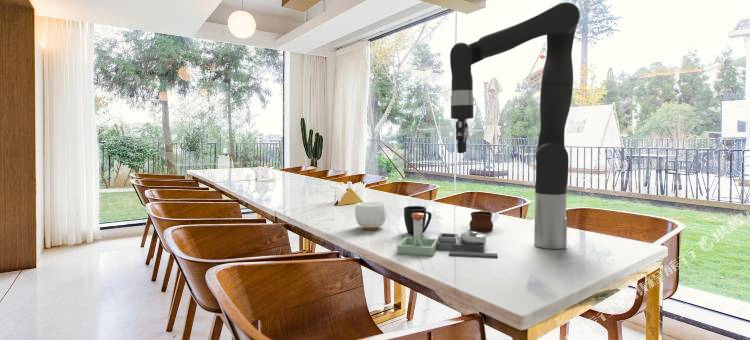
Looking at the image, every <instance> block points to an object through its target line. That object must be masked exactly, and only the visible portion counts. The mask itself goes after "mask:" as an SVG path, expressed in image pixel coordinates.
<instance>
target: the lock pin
mask: <svg viewBox="0 0 750 340" xmlns="http://www.w3.org/2000/svg"><path fill="white" fill-rule="evenodd" d="M412 217H413V224H414V235H413V238H414V246H421V247H423V238H424V237H423V234H424V233H423V230H422V218H423V217H424V213H412Z"/></svg>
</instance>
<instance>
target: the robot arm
mask: <svg viewBox="0 0 750 340" xmlns="http://www.w3.org/2000/svg"><path fill="white" fill-rule="evenodd" d="M580 15H581V14H580V10H579V8H578V6H577V5H576V4H575V3H573V2H569V1H568V2H559V3H557V4H555V5H554V6H552V7H550V8H548V9H546V10H544V11H543V12H541V13H539V14H537V15H535V16H533V17H531V18H527V19H526V20H524V21H521V22H518V23H517V24H513V25H512V26H511V25H510V26H509V27H508V26H507V27H506V28H503V29H499V30H496V31H494V32H491V33H488V34H486V35H483V36H482V37H480V38H479V39H478V40H477V41H474V42H472V43H470V44H469V43H468V44H467V43H466V42H457V43H456V44H454V45H453V46H452V48H451V49H450V53H449V63H450V72H451V95H450V119H451V120H457V121H456V123H455V136H456V137H455V139H456V142H457V146H456V149H457V152H456V153H458V154H464V153H467V141H468V136H469V124H468V122H467V120H469V119H474V100H475V99H474V92H473V91H474V89H473V87H474V85H473V84H474V82H473V81H474V80H473V74H472V65H474V64H476V63H478V62H482V61H483V60H484V59H487V58H490V57H491V58H492V57H494V56H498V55H500V54H503V53H505V52H508V51H510V50H512V49H515V48H517V47H519V46H520V45H523V44H525V43H526V42H529V41H532V40H534V39H537V38H540V37H543V36H546V57H545V62H544V66H543V70H542V76H541V83H540V95H539V97H540V98H539V115H540V116H539V118H540V119H539V120H540V130H539V135H538V142H537V146H536V147H537V148H536V151H535V155H534V156H535V186H534V231H533V232H534V237H533V240H534V242H533V243H534V246H536V247H538V248H542V249H547V250H549V249H550V250H560V249H567V243H568V241H567V240H568V239H567V237H568V235H567V234H568V233H567V232H568V218H567V190H568V189H567V187H568V182H569V154H568V151H567V149H566V148H565V146H566V145H565V131H566V130H565V129H566V125H567V120H568V117H569V112H570V109H571V104H572V98H573V91H574V89H573V88H574V67H573V66H574V65H573V57H572V53H573V45H574V39H575V35H576V32H577V31H576V30H577V28H578V24H579V22H580V19H581V18H580V17H581V16H580Z"/></svg>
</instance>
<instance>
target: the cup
mask: <svg viewBox="0 0 750 340" xmlns="http://www.w3.org/2000/svg"><path fill="white" fill-rule="evenodd" d="M386 207H387V206H386V204H385V202H382V201H362V202H357V203H356V204H355V210H354V211H355V212H354V213H355V214H354V216H355V219H356V223H357V225H359V227H361V228H363V230H368V231H372V230H373V231H374V230H378V229H379V227H382V226H383V225H384V223H385V222H386V219H387V208H386Z"/></svg>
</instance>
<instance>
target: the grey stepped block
mask: <svg viewBox="0 0 750 340" xmlns="http://www.w3.org/2000/svg"><path fill="white" fill-rule="evenodd" d="M437 239H438V248H437V250H438V249H439V250H440V251H441V250H442V251H451V252H474V253H485V248H486V243H487V234H484V233H483V232H476V231H472V230H470V231H469V232H463V233H460V236H459V234H458V233H448V232H447V233H446V232H440V233H439V235H438V236H437Z"/></svg>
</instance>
